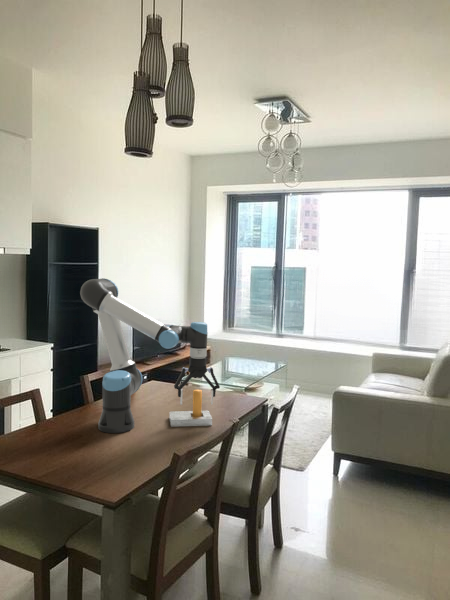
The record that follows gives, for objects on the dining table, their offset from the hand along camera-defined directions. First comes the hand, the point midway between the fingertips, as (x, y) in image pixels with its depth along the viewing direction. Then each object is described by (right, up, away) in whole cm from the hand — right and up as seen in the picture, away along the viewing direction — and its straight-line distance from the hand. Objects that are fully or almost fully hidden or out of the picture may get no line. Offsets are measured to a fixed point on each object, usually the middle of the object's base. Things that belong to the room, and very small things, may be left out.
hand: (196, 404), depth 213 cm
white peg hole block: (-3, -8, 0) cm, 8 cm away
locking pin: (0, -8, 0) cm, 8 cm away
